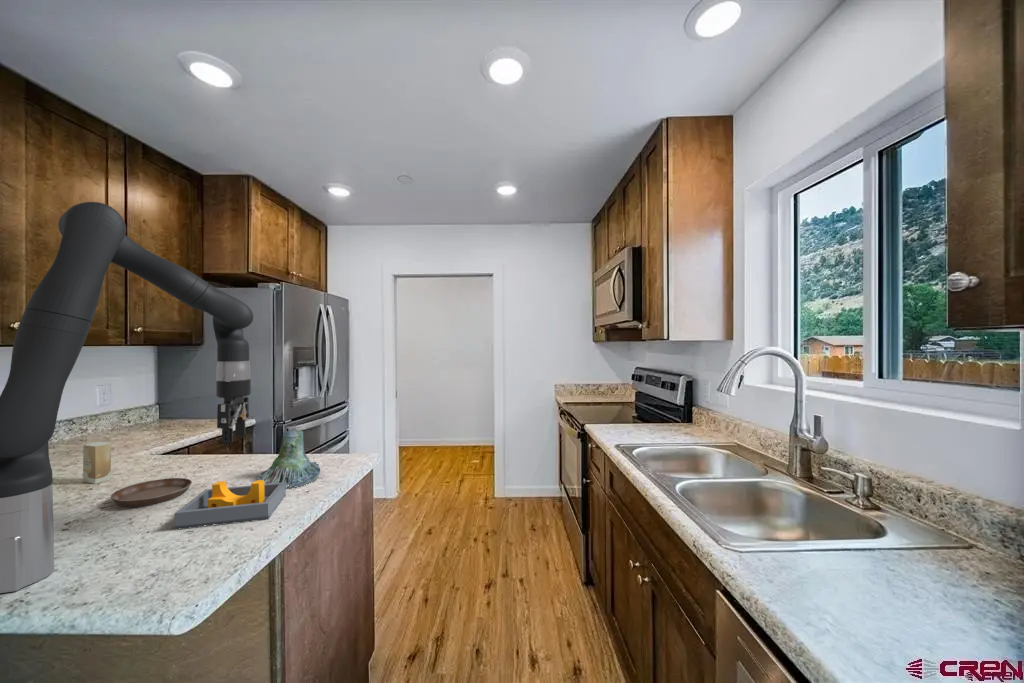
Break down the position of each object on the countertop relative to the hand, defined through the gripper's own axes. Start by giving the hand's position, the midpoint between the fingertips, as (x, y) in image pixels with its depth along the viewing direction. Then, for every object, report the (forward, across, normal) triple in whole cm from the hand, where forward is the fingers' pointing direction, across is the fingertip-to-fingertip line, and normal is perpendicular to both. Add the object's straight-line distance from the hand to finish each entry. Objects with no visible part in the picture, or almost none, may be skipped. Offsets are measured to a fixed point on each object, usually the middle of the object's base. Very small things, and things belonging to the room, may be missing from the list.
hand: (234, 439), depth 108 cm
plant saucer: (+20, -18, -27) cm, 38 cm away
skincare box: (+19, -40, -53) cm, 69 cm away
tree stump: (+19, -24, +8) cm, 31 cm away
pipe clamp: (+18, 0, 0) cm, 18 cm away
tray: (+19, 0, 0) cm, 19 cm away
